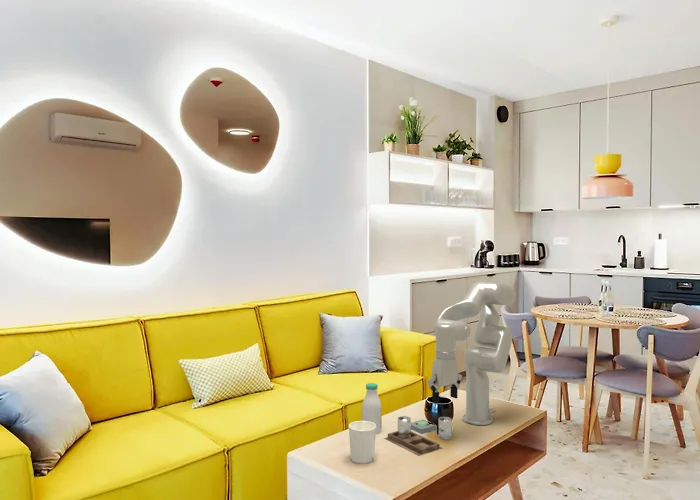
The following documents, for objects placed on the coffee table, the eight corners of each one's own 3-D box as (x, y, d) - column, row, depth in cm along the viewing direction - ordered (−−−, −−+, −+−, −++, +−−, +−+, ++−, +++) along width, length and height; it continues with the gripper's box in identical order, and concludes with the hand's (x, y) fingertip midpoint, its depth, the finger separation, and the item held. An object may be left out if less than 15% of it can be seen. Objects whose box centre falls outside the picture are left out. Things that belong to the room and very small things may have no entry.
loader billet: (404, 435, 212) (404, 413, 211) (413, 439, 207) (413, 417, 207) (395, 438, 209) (395, 416, 208) (403, 442, 205) (403, 420, 204)
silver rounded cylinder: (445, 435, 213) (445, 414, 213) (454, 439, 209) (454, 417, 208) (436, 438, 210) (435, 416, 210) (444, 442, 206) (444, 420, 206)
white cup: (349, 452, 198) (349, 420, 198) (376, 453, 198) (376, 420, 197) (348, 464, 188) (348, 430, 188) (376, 464, 188) (376, 430, 188)
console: (422, 426, 224) (423, 419, 224) (436, 432, 218) (436, 425, 218) (408, 430, 220) (408, 423, 220) (421, 436, 213) (421, 429, 213)
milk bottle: (380, 438, 212) (379, 387, 212) (360, 436, 214) (360, 386, 213) (382, 430, 220) (382, 382, 219) (364, 429, 221) (363, 381, 221)
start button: (422, 429, 221) (422, 420, 221) (428, 432, 218) (428, 422, 218) (416, 431, 219) (416, 421, 219) (422, 433, 216) (422, 424, 216)
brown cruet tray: (407, 434, 216) (407, 427, 216) (443, 451, 199) (443, 443, 199) (383, 441, 209) (383, 434, 209) (418, 459, 192) (418, 451, 192)
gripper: (454, 351, 216) (453, 393, 217) (422, 356, 206) (421, 400, 207) (468, 354, 210) (467, 398, 210) (435, 360, 200) (435, 406, 201)
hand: (444, 399), depth 209 cm, fingers open, 9 cm apart
